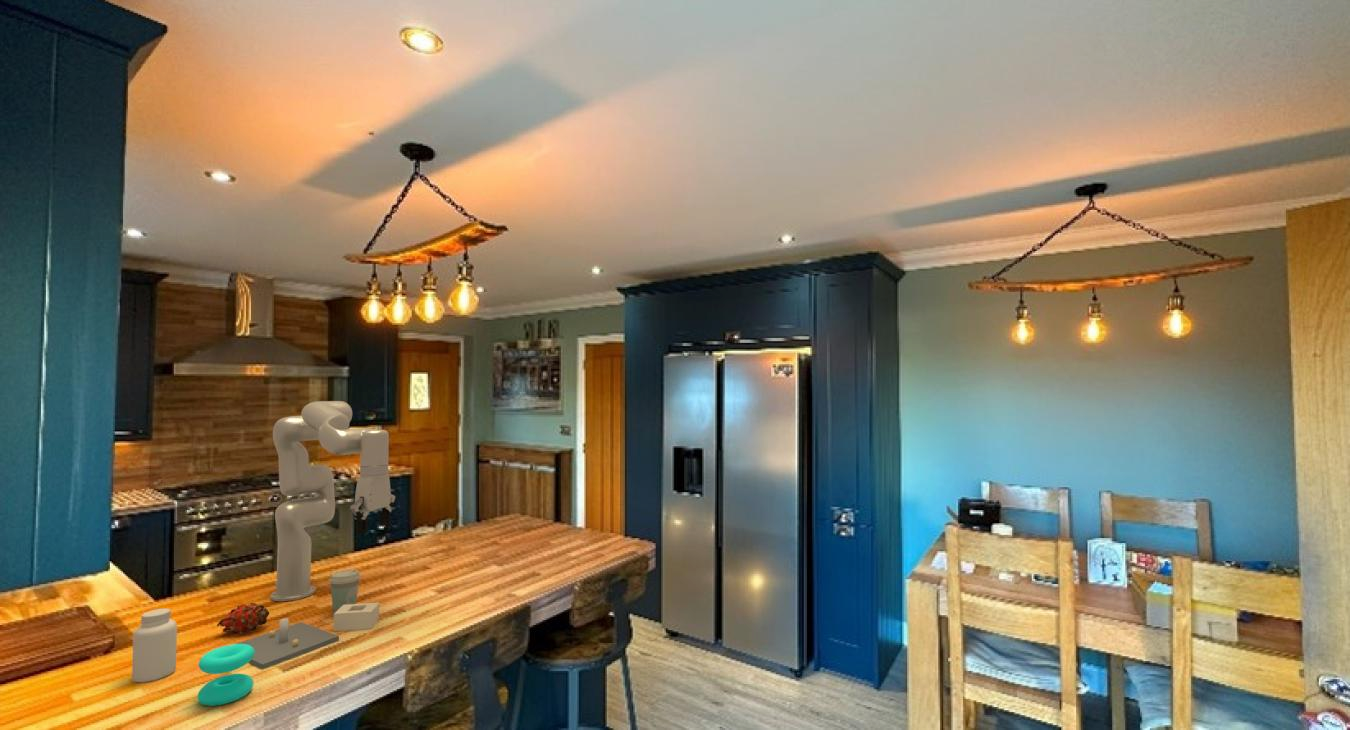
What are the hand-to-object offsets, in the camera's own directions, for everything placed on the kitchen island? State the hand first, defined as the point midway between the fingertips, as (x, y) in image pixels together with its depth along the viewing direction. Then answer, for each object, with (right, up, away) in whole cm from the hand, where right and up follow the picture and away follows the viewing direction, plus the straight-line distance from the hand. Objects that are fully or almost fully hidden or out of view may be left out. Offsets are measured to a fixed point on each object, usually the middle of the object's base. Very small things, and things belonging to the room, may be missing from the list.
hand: (373, 529), depth 172 cm
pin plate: (-16, -27, -16) cm, 35 cm away
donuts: (-12, -26, -41) cm, 50 cm away
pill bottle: (-37, -27, -32) cm, 55 cm away
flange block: (-4, -28, -2) cm, 28 cm away
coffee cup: (-13, -28, +8) cm, 32 cm away
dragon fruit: (-33, -28, -7) cm, 44 cm away
